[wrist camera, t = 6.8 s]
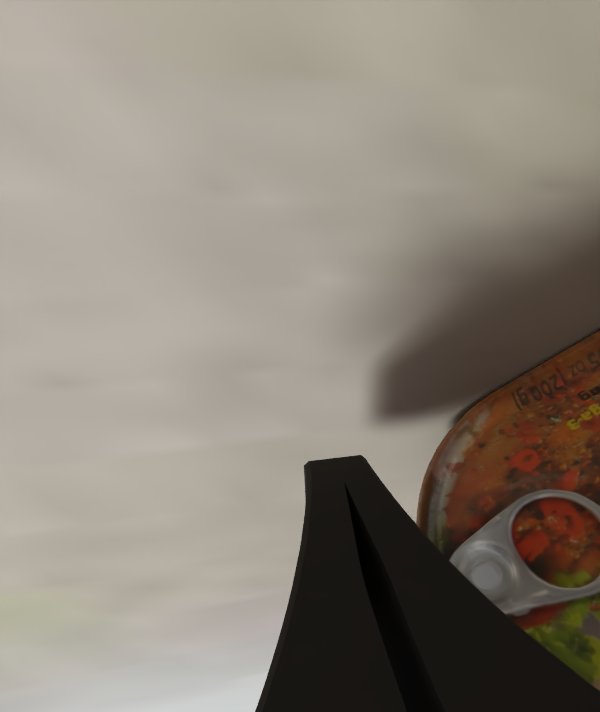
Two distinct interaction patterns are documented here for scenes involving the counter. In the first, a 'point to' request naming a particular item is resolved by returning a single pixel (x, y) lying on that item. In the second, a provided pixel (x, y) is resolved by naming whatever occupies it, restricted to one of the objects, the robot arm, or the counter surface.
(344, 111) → the counter surface
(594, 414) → the tin
